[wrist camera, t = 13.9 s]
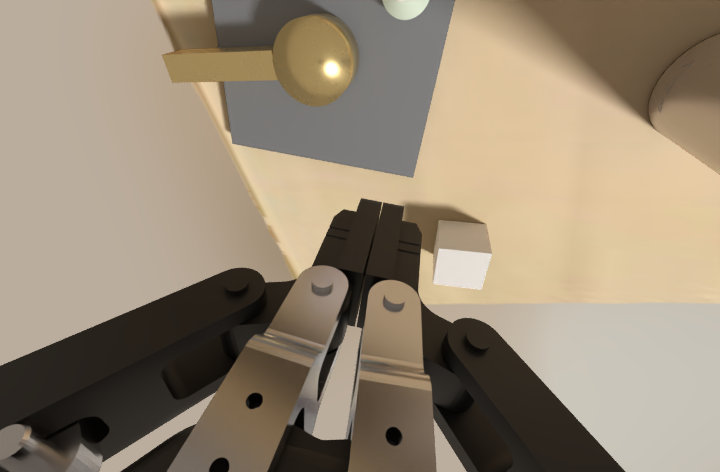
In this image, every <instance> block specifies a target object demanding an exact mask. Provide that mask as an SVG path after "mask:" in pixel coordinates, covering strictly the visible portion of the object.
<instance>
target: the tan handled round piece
mask: <svg viewBox="0 0 720 472" xmlns="http://www.w3.org/2000/svg"><path fill="white" fill-rule="evenodd" d="M162 56H163V59H164V62H165V65H166V67H167V70H168V72H169V75H170V78H171V80H172V82H173V83H174V82H220V81H265V80H279V82H280V84H281V85H282V87H283V88H284V90H285V91H286V92H287V93H288V94H289V95H290V96H291V97H292V98H294V99H295V100H297V101H298V102H300V103H302V104H305V105H308V106H315V107H318V106H325V105H328V104H330V103H332V102H334V101H335V100H337V99H338V98H339V97H340V96H341V95H342V93H343V92H344V91H345V90H346V89H347V88H348V86H349V85H350V84H351V83H352V81H353V80H354V78H355V76H356V74H357V71H358V67H359V49H358V44H357V42H356V39H355V37H354V35H353V33H352V31H351V30H350V28H349V27H348V26H347V25H346V24H345V23H344V22H343V21H342V20H340V19H339V18H337V17H335V16H334V15H331V14H327V13H314V14H310V15H306V16H303V17H299V18H296V19H293V20H291V21H290V22H288V23H287V24H286V25H285V26H284V27H283V28H282V29H281V30H280V32H279V33H278V35H277V37H276V40H275V42H274V46H252V47H229V48H206V49H183V50H178V51H174V52H171V53H167V54H163V55H162Z"/></svg>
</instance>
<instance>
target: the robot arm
mask: <svg viewBox="0 0 720 472" xmlns="http://www.w3.org/2000/svg"><path fill="white" fill-rule="evenodd" d="M649 117H650V121H651V123H652V125H653V126H654V128H655V129H656V130H657V131H659V132H660V133H661V134H662V135H664V136H665V137H667V138H668V139H670V140H671V141H673V142H674V143H675V144H677V145H678V146H680V147H681V148H682V149H684V150H685V151H687V152H688V153H689V154H691V155H692V156H694V157H695V158H697V159H698V160H700V161H701V162H702V163H704V164H705V165H707V166H708V167H710V168H711V169H712V170H714V171H715V172H717V173H718V174H720V34H718V35H716V36H713V37H711V38H708V39H706V40H704V41H703V42H701V43H699V44H697V45H696V46H694V47H692V48H691V49H689V50H688V51H687V52H685V53H684V54H683V55H682V56H680V57H679V58H678V59H677V60H676V61H675V62H674V63H673V64H672V65H671V66H670V67H669V68H668V69H667V70H666V71H665V72H664V74H663V75H662V76H661V78H660V79H659V80H658V82H657V84H656V86H655V88H654V90H653V92H652V95H651V98H650V101H649ZM381 205H382V202H378V201H373V200H368V199H363V198H361V200H360V203H359V206H358V209H357V211H356V212H354V211H349V210H342V211H341V212H340V213H338V214H337V215H336V216H334V218H333V220H332V223H331V225H330V228H329V229H328V232H327V234H326V236H325V238H324V241H323V243H322V245H321V247H320V250H319V252H318V254H317V256H316V259H315V261H314V263H313V265H312V267H310V268H308V269H306V270H305V271H303V272H302V273H301V274H300V275H299V277H298V278H297V279H295V280H292V281H286V282H269V283H265V281H264V278H263V277H262V275H261V274H260V273H258V272H257V271H255V270H253V269H249V268H234V269H230V270H227V271H224V272H222V273H220V274H217V275H215V276H212V277H210V278H208V279H205V280H203V281H200V282H198V283H196V284H193V285H191V286H189V287H186V288H184V289H182V290H179V291H177V292H174V293H172V294H170V295H167V296H165V297H163V298H160V299H158V300H155V301H153V302H151V303H148V304H146V305H144V306H142V307H139V308H136V309H134V310H132V311H129V312H127V313H125V314H122V315H120V316H117V317H115V318H113V319H111V320H108V321H106V322H103V323H101V324H99V325H96V326H94V327H92V328H89V329H87V330H84V331H82V332H80V333H77V334H75V335H72V336H70V337H68V338H65V339H63V340H61V341H58V342H56V343H53V344H51V345H49V346H46V347H44V348H42V349H39V350H37V351H34V352H32V353H30V354H28V355H25V356H23V357H20V358H18V359H16V360H13V361H11V362H8V363H6V364H4V365H1V366H0V472H99V470H100V468H101V464H102V462H104V461H105V460H107V459H108V458H110V457H111V456H113V455H115V454H117V453H118V452H120V451H121V450H123V449H125V448H126V447H128V446H129V445H131V444H132V443H134V442H136V441H137V440H139V439H141V438H142V437H144V436H145V435H147V434H149V433H150V432H152V431H153V430H155V429H157V428H158V427H160V426H162V425H163V424H165V423H166V422H168V421H170V420H171V419H173V418H174V417H176V416H177V415H179V414H181V413H182V412H184V411H186V410H187V409H189V408H190V407H192V406H194V405H195V404H197V403H199V402H200V401H202V400H203V399H205V398H207V397H208V396H210V395H211V394H213V393H215V392H216V391H217V392H216V394H215V395H214V397H213V398H212V400H211V401H210V403H209V405H208V406H207V408H206V409H205V411H204V413H203V415H202V416H201V418H200V419H199V421H198V422H197V424H195V425H193V426H190V427H188V428H186V429H184V430H183V431H181V432H179V433H177V434H175V435H173V436H172V437H170V438H169V439H167V440H166V441H164V442H163V443H162V444H160V445H159V446H157V447H156V448H154V449H153V450H151V451H150V452H149V453H147V454H146V455H144V456H143V457H141V458H140V459H138V460H137V461H135V462H134V463H133V464H131V465H130V466H128V467H127V468H125V469H124V470H122V471H121V472H436V456H435V437H434V421H433V418H434V420H435V421H436V423H437V424H438V426H439V428H440V429H441V431H442V432H443V434H444V435H445V437H446V439H447V441H448V442H449V444H450V445H451V447H452V449H453V450H454V452H455V453H456V455H457V457H458V458H459V460H460V461H461V463H462V464H463V466H464V468H465V469H466V471H467V472H625V471H624V470H623V469H622V468H621V467H620V466H619V465H618V463H617V462H616V461H615V460H614V459H613V458H612V457H611V456H610V455H609V453H608V452H607V451H606V450H605V449H604V448H603V447H602V446H601V445H600V444H599V443H598V441H597V440H596V439H595V438H594V437H593V436H592V435H591V434H590V433H589V432H588V431H587V430H586V428H585V427H584V426H583V425H582V424H581V423H580V422H579V421H578V420H577V419H576V418H575V417H574V415H573V414H572V413H571V412H570V411H569V410H568V409H567V408H566V407H565V406H564V405H563V404H562V402H561V401H560V400H559V399H558V398H557V397H556V396H555V395H554V394H553V393H552V392H551V390H549V388H548V387H547V386H546V385H545V384H544V383H543V382H542V381H541V379H540V378H539V377H538V376H537V375H536V374H535V373H534V372H533V371H532V370H531V369H530V368H529V367H528V365H527V364H526V363H525V362H524V361H523V360H522V359H521V358H520V357H519V356H518V354H517V353H516V352H515V351H514V350H513V349H512V348H511V347H510V346H509V345H508V344H507V343H506V342H505V341H504V339H503V338H502V337H501V336H500V335H499V334H498V333H497V332H496V331H495V330H494V329H493V328H492V327H491V326H489V325H487V324H486V323H484V322H482V321H479V320H476V319H472V318H462V319H458V320H456V321H454V322H453V323H451V322H449V321H447V320H445V319H443V318H441V317H439V316H437V315H435V314H434V313H432V312H431V311H430V310H429V309H428V308H427V307H426V306H425V305H424V304H423V302H422V301H421V299H420V297H419V293H418V282H419V267H420V253H421V238H422V234H421V232H420V230H419V228H418V226H417V224H415V223H410V222H405V221H402V217H403V210H404V206H399V205H394V204H388V203H383V207H382V210H381ZM380 211H381V214H380ZM379 216H380V218H379ZM360 302H361V304H360ZM359 306H360V310H359ZM358 310H359V317H358V323H357V327H360V328H362V331H361V337H360V343H359V348H358V353H357V361H356V368H355V376H354V384H353V390H352V398H351V405H350V413H349V420H348V426H347V432H346V439H344V440H320V439H318V438H315V437H314V436H312V433H313V429H314V426H315V422H316V417H317V414H318V410H319V407H320V404H321V401H322V398H323V395H324V392H325V390H326V387H327V384H328V381H329V379H330V376H331V373H332V370H333V367H334V365H335V362H336V359H337V356H338V354H339V351H340V347H341V343H342V342H343V339H344V336H345V332H346V328H347V325H350V326H355V322H356V318H357V314H358Z"/></svg>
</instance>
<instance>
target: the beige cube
mask: <svg viewBox="0 0 720 472" xmlns="http://www.w3.org/2000/svg"><path fill="white" fill-rule="evenodd" d="M491 256H492V251H491V246H490V240H489V235H488V230H487V225H486V224H479V223H468V222H457V221H446V220H439V222H438V228H437V235H436V241H435V247H434V254H433V284H437V285H445V286H454V287H462V288H470V289H479V290H481V289H482V286H483V282H484V279H485V276H486V272H487V269H488V266H489V263H490V259H491Z"/></svg>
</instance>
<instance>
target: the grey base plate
mask: <svg viewBox="0 0 720 472" xmlns="http://www.w3.org/2000/svg"><path fill="white" fill-rule="evenodd" d="M454 2H455V0H212V6H213V13H214V20H215V27H216V34H217V40H218V47H219V48H229V47H252V46H274V42H275V40H276V37H277V35H278V33H279V32H280V30H281V29H282V28H283V27H284V26H285V25H286V24H287V23H288V22H290V21H291V20H293V19H296V18H299V17H303V16H306V15H310V14H314V13H327V14H331V15H334V16H335V17H337V18H339V19H340V20H342V21H343V22H344V23H345V24H346V25H347V26H348V27H349V28H350V30H351V31H352V33H353V35H354V37H355V39H356V42H357V44H358V49H359V67H358V71H357V74H356V76H355V78H354V80H353V81H352V83H351V84H350V85H349V86H348V88H347V89H346V90H345V91H344V92H343V93H342V95H341V96H340V97H339V98H338V99H337V100H335V101H334V102H332V103H330V104H328V105H325V106H318V107H315V106H308V105H305V104H302V103H300V102H298V101H297V100H295V99H294V98H292V97H291V96H290V95H289V94H288V93H287V92H286V91H285V90H284V88H283V87H282V85H281V84H280V82H279V80H265V81H223V82H224V88H225V95H226V102H227V109H228V116H229V123H230V130H231V136H232V143H233V144H237V145H242V146H247V147H253V148H258V149H263V150H269V151H274V152H279V153H285V154H290V155H295V156H300V157H306V158H311V159H316V160H322V161H327V162H332V163H338V164H343V165H348V166H354V167H359V168H364V169H370V170H375V171H380V172H385V173H391V174H396V175H401V176H407V177H412V178H413V176H414V171H415V167H416V163H417V159H418V154H419V150H420V146H421V142H422V138H423V133H424V129H425V125H426V121H427V116H428V112H429V108H430V104H431V100H432V95H433V91H434V87H435V83H436V78H437V74H438V70H439V66H440V61H441V57H442V53H443V49H444V45H445V40H446V36H447V32H448V28H449V23H450V19H451V15H452V11H453V7H454Z"/></svg>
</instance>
